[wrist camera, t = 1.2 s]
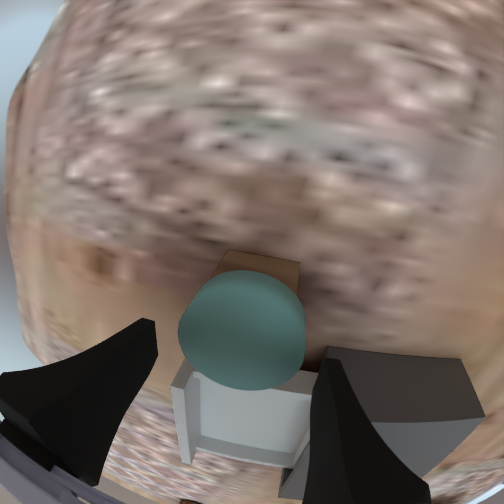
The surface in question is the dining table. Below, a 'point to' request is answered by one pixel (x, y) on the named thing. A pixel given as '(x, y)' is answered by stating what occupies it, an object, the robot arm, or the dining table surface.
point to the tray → (242, 418)
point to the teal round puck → (244, 331)
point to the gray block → (404, 408)
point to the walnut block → (261, 267)
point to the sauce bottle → (188, 502)
